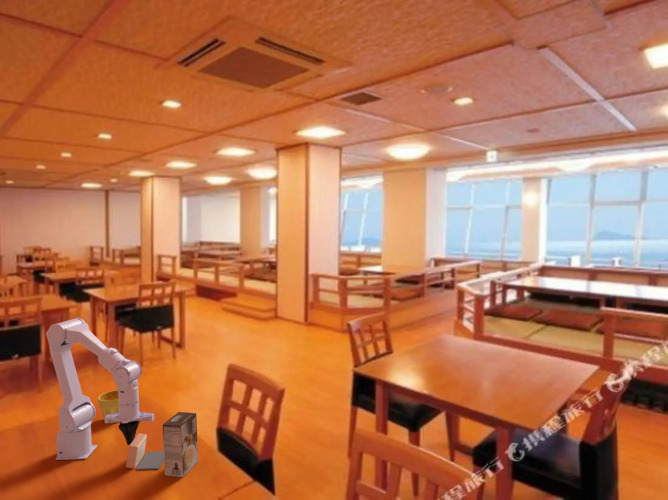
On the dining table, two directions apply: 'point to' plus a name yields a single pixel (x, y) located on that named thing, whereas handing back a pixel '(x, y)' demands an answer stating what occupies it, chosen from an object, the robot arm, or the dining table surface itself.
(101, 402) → the plant pot
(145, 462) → the mat
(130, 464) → the pale pink block
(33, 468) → the dining table surface
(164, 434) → the coffee box
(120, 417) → the robot arm
